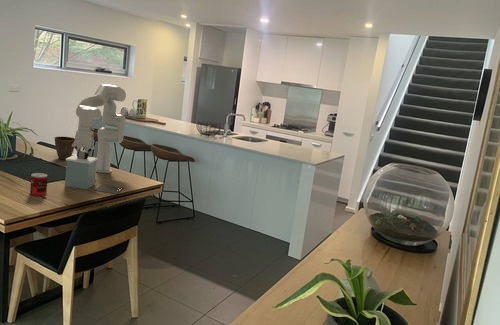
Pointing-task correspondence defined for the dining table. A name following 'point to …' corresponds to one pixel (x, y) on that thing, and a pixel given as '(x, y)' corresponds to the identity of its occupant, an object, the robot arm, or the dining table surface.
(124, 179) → the dining table surface
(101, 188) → the mat
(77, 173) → the tub
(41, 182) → the canned food
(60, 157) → the plant pot
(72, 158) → the lid
